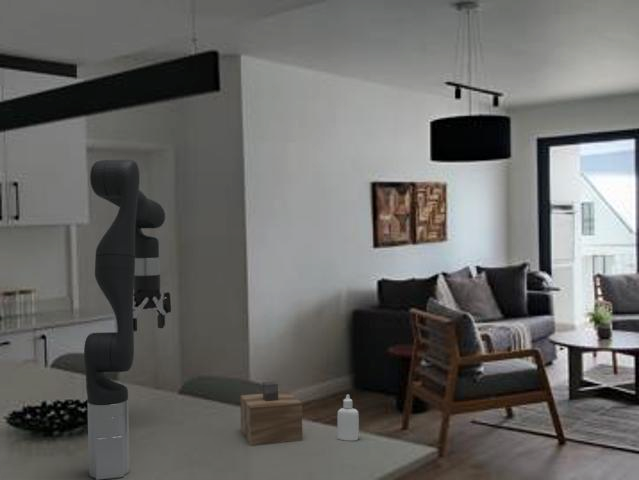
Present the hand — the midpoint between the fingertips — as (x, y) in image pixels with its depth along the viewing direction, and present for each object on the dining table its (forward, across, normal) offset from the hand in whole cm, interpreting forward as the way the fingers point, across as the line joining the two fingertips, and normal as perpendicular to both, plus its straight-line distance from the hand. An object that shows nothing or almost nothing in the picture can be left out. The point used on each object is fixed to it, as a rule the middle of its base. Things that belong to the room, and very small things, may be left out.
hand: (147, 329), depth 210 cm
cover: (+28, +19, -32) cm, 47 cm away
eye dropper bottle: (+28, +32, -49) cm, 65 cm away
